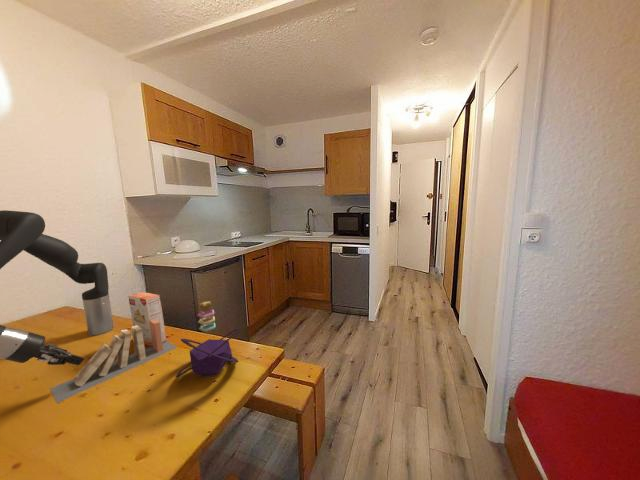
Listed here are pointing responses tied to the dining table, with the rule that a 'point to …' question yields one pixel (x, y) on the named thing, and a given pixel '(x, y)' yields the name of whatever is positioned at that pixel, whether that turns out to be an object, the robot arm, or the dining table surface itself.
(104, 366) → the tile
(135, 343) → the tall wooden block
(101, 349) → the tile
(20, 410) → the dining table surface
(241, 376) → the dining table surface
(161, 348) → the end tile
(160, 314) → the cracker box
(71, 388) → the slate mat
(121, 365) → the tile
